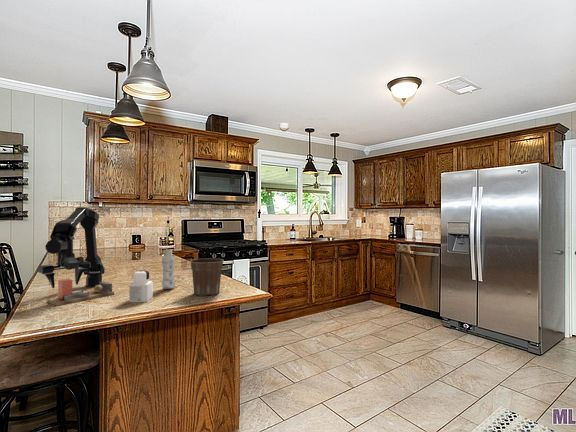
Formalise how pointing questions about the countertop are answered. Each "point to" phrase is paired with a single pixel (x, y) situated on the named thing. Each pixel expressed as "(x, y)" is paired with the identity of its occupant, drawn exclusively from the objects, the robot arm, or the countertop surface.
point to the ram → (65, 288)
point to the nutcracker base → (85, 295)
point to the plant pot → (206, 276)
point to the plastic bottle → (168, 270)
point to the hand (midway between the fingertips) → (65, 286)
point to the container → (141, 287)
